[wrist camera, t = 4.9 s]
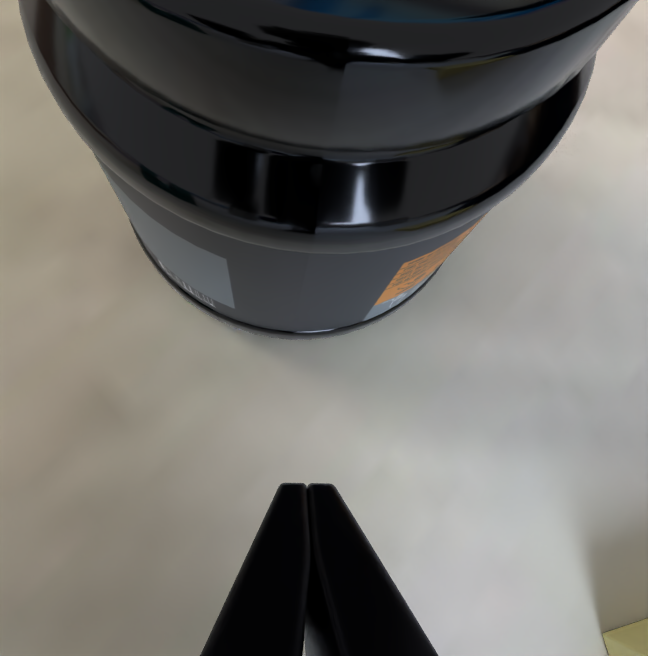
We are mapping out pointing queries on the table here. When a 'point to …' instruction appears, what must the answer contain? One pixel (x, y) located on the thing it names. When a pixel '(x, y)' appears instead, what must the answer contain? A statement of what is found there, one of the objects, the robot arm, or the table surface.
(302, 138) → the supplement container
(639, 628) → the sticky notes
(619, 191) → the table surface
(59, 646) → the table surface
